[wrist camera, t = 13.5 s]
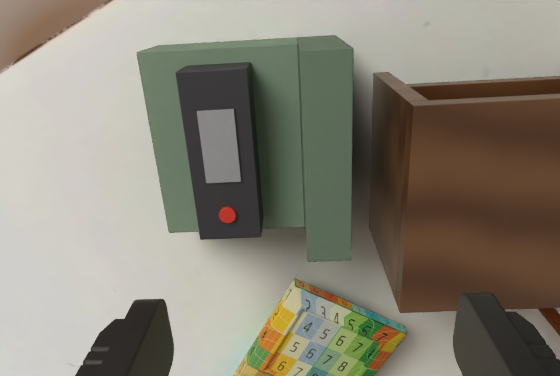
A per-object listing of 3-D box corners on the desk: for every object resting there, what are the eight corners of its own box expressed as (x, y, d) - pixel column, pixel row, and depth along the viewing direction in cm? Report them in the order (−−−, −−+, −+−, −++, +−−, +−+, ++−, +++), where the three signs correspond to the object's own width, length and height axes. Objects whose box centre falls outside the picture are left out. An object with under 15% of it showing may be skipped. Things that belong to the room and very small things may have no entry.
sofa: (182, 206, 39) (150, 268, 30) (156, 45, 34) (107, 61, 25) (336, 199, 39) (351, 260, 30) (335, 35, 33) (353, 47, 24)
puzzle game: (204, 433, 44) (295, 291, 37) (212, 395, 49) (294, 261, 42) (305, 469, 46) (409, 341, 39) (303, 429, 51) (397, 307, 43)
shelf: (373, 72, 34) (413, 105, 23) (578, 61, 34) (719, 90, 23) (368, 227, 40) (399, 313, 29) (545, 220, 39) (645, 304, 28)
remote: (185, 65, 30) (174, 72, 27) (250, 61, 29) (246, 68, 26) (207, 220, 34) (199, 241, 31) (263, 218, 34) (261, 239, 31)
